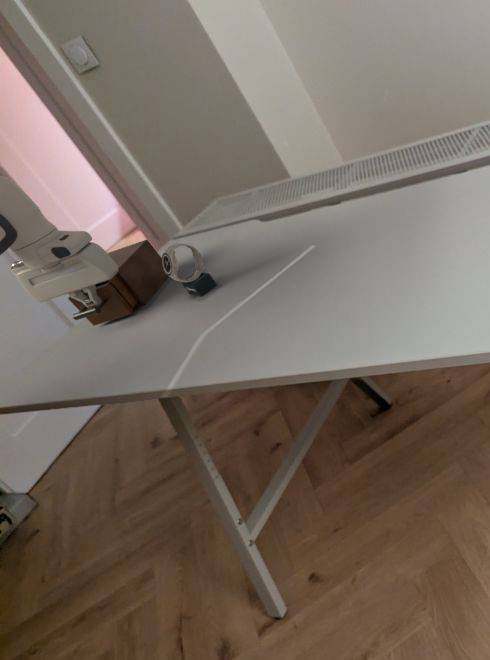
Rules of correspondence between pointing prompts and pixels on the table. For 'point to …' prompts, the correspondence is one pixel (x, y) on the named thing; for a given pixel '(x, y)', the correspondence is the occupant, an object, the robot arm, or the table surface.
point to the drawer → (107, 302)
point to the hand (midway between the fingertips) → (95, 304)
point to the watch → (197, 281)
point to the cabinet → (140, 270)
